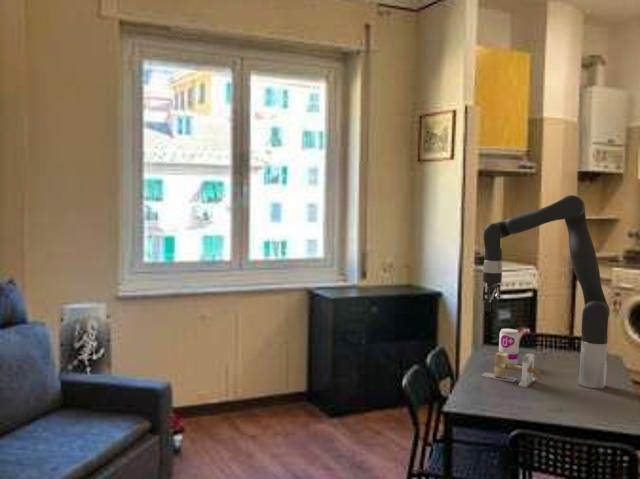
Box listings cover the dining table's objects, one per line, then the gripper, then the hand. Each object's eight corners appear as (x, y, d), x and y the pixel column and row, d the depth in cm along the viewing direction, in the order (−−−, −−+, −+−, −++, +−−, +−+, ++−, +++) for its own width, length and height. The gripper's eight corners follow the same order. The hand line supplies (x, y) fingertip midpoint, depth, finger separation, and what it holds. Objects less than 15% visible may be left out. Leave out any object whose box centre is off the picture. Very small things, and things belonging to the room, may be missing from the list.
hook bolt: (540, 382, 250) (542, 359, 249) (538, 384, 246) (539, 361, 246) (497, 374, 259) (498, 352, 258) (494, 376, 256) (495, 354, 255)
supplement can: (513, 367, 273) (515, 333, 272) (495, 364, 278) (497, 330, 277) (520, 364, 279) (522, 330, 278) (502, 360, 284) (504, 327, 283)
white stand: (535, 380, 255) (536, 353, 254) (526, 387, 245) (528, 358, 244) (488, 371, 265) (489, 345, 264) (478, 378, 255) (479, 350, 254)
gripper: (495, 273, 258) (494, 313, 259) (507, 270, 270) (505, 308, 271) (477, 271, 262) (476, 311, 263) (489, 269, 274) (488, 306, 275)
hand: (491, 310), depth 267 cm, fingers open, 8 cm apart
